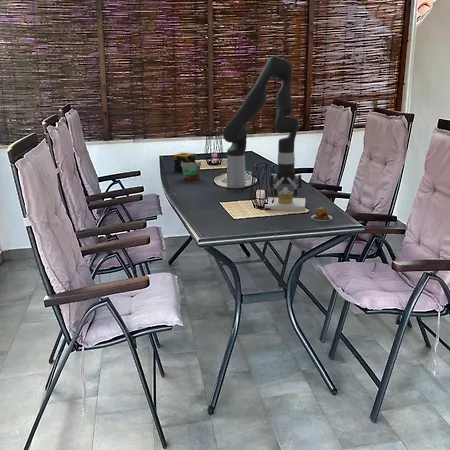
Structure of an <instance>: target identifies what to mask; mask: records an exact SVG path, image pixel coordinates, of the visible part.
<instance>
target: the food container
mask: <svg viewBox="0 0 450 450" xmlns="http://www.w3.org/2000/svg"><path fill="white" fill-rule="evenodd" d="M181 166H182V169H183V171H182V174H183V179H184V180H185V181H189V182H190V181H198V180H200V177H201V166H202V163H201V162H200V161H199V162H196V163H192V162H190V163H183V161H182V163H181Z"/></svg>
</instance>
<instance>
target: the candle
mask: <svg viewBox="0 0 450 450" xmlns="http://www.w3.org/2000/svg"><path fill="white" fill-rule="evenodd" d="M182 161H183V163H190V162H192V163H197V162H196V153H195V152H194V153H193V152H178V153H176V154H173V164H174V165H173V169H174V170H173V171H175V172H183V169H182V166H181V163H182Z"/></svg>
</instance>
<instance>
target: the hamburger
mask: <svg viewBox="0 0 450 450" xmlns="http://www.w3.org/2000/svg"><path fill="white" fill-rule="evenodd" d="M310 218H311V219H312V220H314V221H318V222H327V221H330V220H332V219H333V216H331V215H330V214H329V210H328V208H327V207H323V206H320V207H318V208H316V210H315V214H313V215H311V217H310ZM315 218H316V219H315ZM328 218H329V219H328Z"/></svg>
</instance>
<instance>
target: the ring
mask: <svg viewBox="0 0 450 450" xmlns="http://www.w3.org/2000/svg"><path fill="white" fill-rule="evenodd" d="M277 198H278V203H281V204H290V203H292V201H293V198H294V191H290V190H289V194H283V190H281V191H278V192H277Z"/></svg>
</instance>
